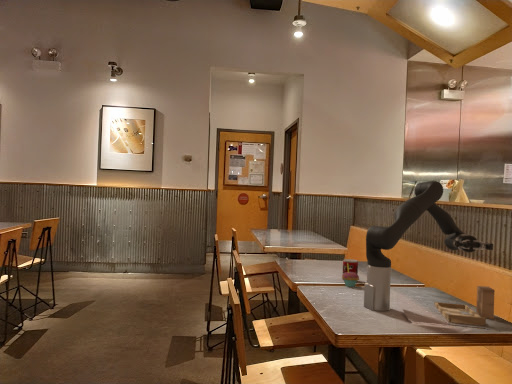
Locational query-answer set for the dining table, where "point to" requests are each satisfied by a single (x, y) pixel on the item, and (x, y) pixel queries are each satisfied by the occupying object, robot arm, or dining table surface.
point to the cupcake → (350, 278)
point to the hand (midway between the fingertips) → (478, 246)
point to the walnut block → (485, 302)
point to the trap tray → (460, 314)
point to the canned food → (350, 266)
